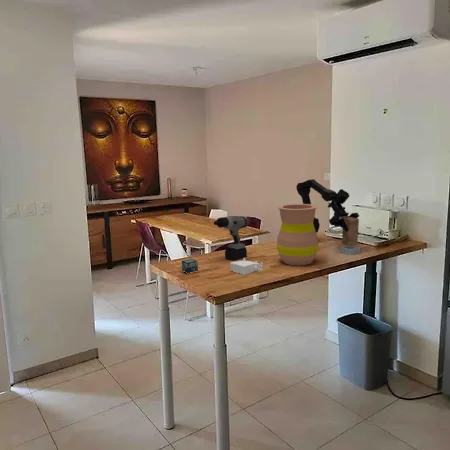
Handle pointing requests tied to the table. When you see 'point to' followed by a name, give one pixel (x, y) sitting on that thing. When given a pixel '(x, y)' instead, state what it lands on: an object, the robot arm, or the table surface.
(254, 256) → the table surface
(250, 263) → the white box with fittings
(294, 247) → the vase
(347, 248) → the plinth
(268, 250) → the table surface
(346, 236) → the post
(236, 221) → the cordless drill
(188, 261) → the puzzle
